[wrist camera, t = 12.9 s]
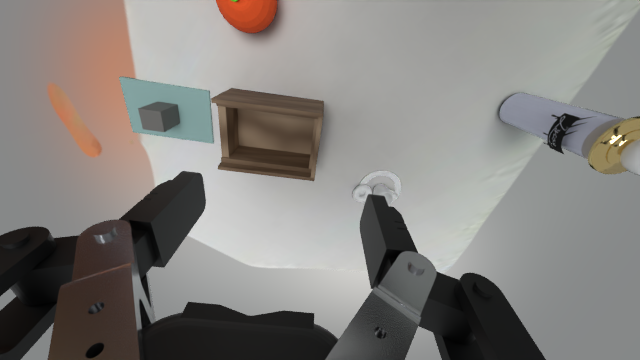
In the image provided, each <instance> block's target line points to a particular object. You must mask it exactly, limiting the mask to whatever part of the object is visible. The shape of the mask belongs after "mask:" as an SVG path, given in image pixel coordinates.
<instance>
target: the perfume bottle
mask: <svg viewBox="0 0 640 360" xmlns="http://www.w3.org/2000/svg"><path fill="white" fill-rule="evenodd" d="M500 118H501V120H502V121H503V122H505V123H508V124H510V125H512V126H514V127H517V128H519V129H521V130H523V131H526V132H528V133H530V134H532V135H535V136H537V137H539V138H541V139H544V140H546V141H548V143H547V145H549V146H550V148H552V149H554V150H556V151H558V152H560V153H562V154H564V153H563V151H562V148H564V149H566V150H568V151H570V152H573V153H575V154H577V155H579V156H582V157H584V158H586V159H588V163H589V165H590V167H592V168H593V169H595V170H596V171H598V172H601V173H603V174H617V173H622V172H625V171H629V172H631V173H634V174H636V175H639V176H640V116H639V117H633V118H629V119H624V118H620V117H616V116H612V115H608V114H605V113H600V112H597V111H593V110H589V109H585V108H581V107H577V106H573V105H570V104H566V103H562V102H558V101H554V100H550V99H546V98H542V97H538V96H535V95H531V94H527V93H517V94H514V95H512V96H511V97H509V98H508V99H507V100H506V101H505V102H504V103H503V105H502V106H501V109H500ZM551 143H552V144H551ZM551 145H552V146H553V147H552V146H551ZM554 145H556V146H554Z"/></svg>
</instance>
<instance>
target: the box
mask: <svg viewBox="0 0 640 360" xmlns="http://www.w3.org/2000/svg"><path fill="white" fill-rule="evenodd" d="M211 100H212V103H216V104H217V106H218V113H219V125H220V137H221V149H222V157H221V163H220V164H219V166H218V169H219V170H228V171H236V172H244V173H252V174H261V175H269V176H277V177H286V178H294V179H302V180H310V181H314V178H315V171H316V163H317V156H318V149H319V142H320V135H321V127H322V120H323V101H319V100H312V99H305V98H298V97H291V96H283V95H276V94H269V93H262V92H255V91H248V90H240V89H233V88H231V89H229V90H227V91H225V92H223V93H221V94H219V95H217V96H215V97H213V98H211Z"/></svg>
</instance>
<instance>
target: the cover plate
mask: <svg viewBox="0 0 640 360" xmlns="http://www.w3.org/2000/svg"><path fill="white" fill-rule="evenodd" d="M119 79H120V82H121V87H122V91H123V95H124V99H125V102H126V106H127V110H128V114H129V118H130V122H131V126H132V129H133V132H136V133H143V134H150V135H157V136H164V137H171V138H178V139H185V140H192V141H199V142H206V143H214V140H213V127H212V115H211V103H210V91H207V90H201V89H195V88H188V87H182V86H175V85H169V84H163V83H156V82H150V81H143V80H137V79H136V78H130V77H124V76H122V77H119Z"/></svg>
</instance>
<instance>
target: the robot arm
mask: <svg viewBox="0 0 640 360" xmlns="http://www.w3.org/2000/svg"><path fill="white" fill-rule="evenodd" d="M205 204H206V199H205V191H204V184H203V177H202V175H201V174H200V173H195V172H187V171H182V172H181V173H180V174H178V175H177V176H176V177H175V178H174V179H173V180H168V181H166V182H164V183H162V184H160V185H158V186H157V187H156V188H154V189H153V190H152V191H151V192H150V194H148V195H147V196H145V197H144V199H143V200H141V201H140V202H138V203H137V204H136V205H135V206H134V207H133V208H132V209H130V210H129V211H128V212H127V213H126V214H125V215H124V216H122V217H121V218H120V219H119V220H108V221H104V222H100V223H98V224H95V225H93V226H91V227H89V228H87V229H86V230H85V231H83V232H82V233H81V234H80V235H79V236H70V237H60V238H53V237H52V235H51V233H50V232H49V230H48V229H46V228H44V227H26V228H21V229H17V230H14V231H11V232H8V233H5V234H3V235H1V236H0V296H1V295H2V294H3V293H5V292H6V291H7V290H8V289H9V288H10V289H11V290H12V291H13V292H14V293H15V295H16V297H15V298H14V299H13V300H12V301H11V302H10V303H9V304H7V305H6V306H5V307H4V308H3V309H2V310H1V311H0V360H20V359H21V358H22V357H23V356H24V355H25V354H26V353H27V352H28V351H29V349H30V348H31V347H32V346H33V345H34V344H35V343H36V342H37V341H38V339H39V338H40V337H41V336H42V335H43V334H44V333H45V332H46V330H47V329H48V328H49V327H50V326H51V324H53V323H54V325H53V331H52V337H51V343H50V349H49V355H48V360H405V357H406V355H407V352H408V350H409V348H410V345H411V342H412V340H413V338H414V335H415V333H416V330H417V328H418V326H420V327H422V328H425V329H427V330H429V331H431V332H433V333H434V336H435V340H436V343H437V346H438V349H439V352H440V355H441V358H442V360H546V359H545V358H544V356H543V355H542V353H541V352H540V350H539V349H538V347H537V345H536V344H535V342H534V341H533V339H532V338H531V336H530V335H529V333H528V332H527V330H526V328H525V327H524V325H523V324H522V322H521V321H520V319H519V318H518V316H517V315H516V313H515V311H514V310H513V308H512V307H511V305H510V304H509V302H508V301H507V299H506V298H505V296H504V295H503V293H502V292H501V290H500V289H499V288H498V287H497V286H496V285H495V284H494V283H493V282H491V281H490V280H488V279H487V278H485V277H483V276H481V275H478V274H475V273H465V274H463V276H462V277H461V278H460V280H458V279H455V278H452V277H450V276H446V275H444V274H441V273H439V272H437V271H436V269H435V267H434V265H433V264H432V263H431V262H430V261H429V260H428V259H427V258H426V257H424V256H423V255H421V254H419V253H418V251H417V249H416V247H415V245H414V242H413V240H412V238H411V236H410V233H409V231H408V230H407V227H406V224H404V220H403V218H402V215H401V214H400V213H399V212H398V211H397V210H396V209H395V208H394V207H389V206H388V203H387V201H386V198H385V196H382V195H373V194H368V196H367V199H366V202H365V206H364V209H363V213H362V216H361V220H360V233H361V238H362V243H363V249H364V254H365V259H366V264H367V270H368V275H369V280H370V285H371V289H373V290H372V292H371V293H370V295H369V296H368V298H367V299H366V300H365V302H364V303H363V305H362V306H361V308H360V309H359V311H358V312H357V314H356V315H355V317H354V318H353V319H352V321H351V322H350V324H349V325H348V327H347V329H346V330H345V331H344V333H343V334H342V336H341V337H340V339H337V338H336V337H335V336H334V335H333V334H332V333H330V332H329V331H328V330H326V329H324V328H323V327H321V326H319V325H316V324H314V313H304V312H293V311H279V312H273V313H267V314H261V315H255V316H247V315H245V314H242V313H240V312H237V311H235V310H232V309H229V308H227V307H224V306H222V305H216V304H205V303H194V302H188V303H187V305H186V307H185V309H184V311H183V313H178V314H174V315H171V316H168V317H165V318H162V319H160V320H158V321H156V319H155V314H154V308H153V301H152V295H151V289H150V283H149V277H148V273H147V272H148V271H149V269H150V268H151V267H152V266H154V267H165V266H166V264H167V263H168V261H169V260H170V259H171V257H172V256H173V254H174V253H175V251H176V250H177V248H178V247H179V246H180V244H181V243H182V241H183V240H184V239H185V237H186V236H187V234H188V233H189V232H190V230H191V229H192V227H193V226H194V224H195V223H196V222H197V220H198V219H199V217H200V216H201V215H202V213H203V211H204V209H205Z"/></svg>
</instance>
